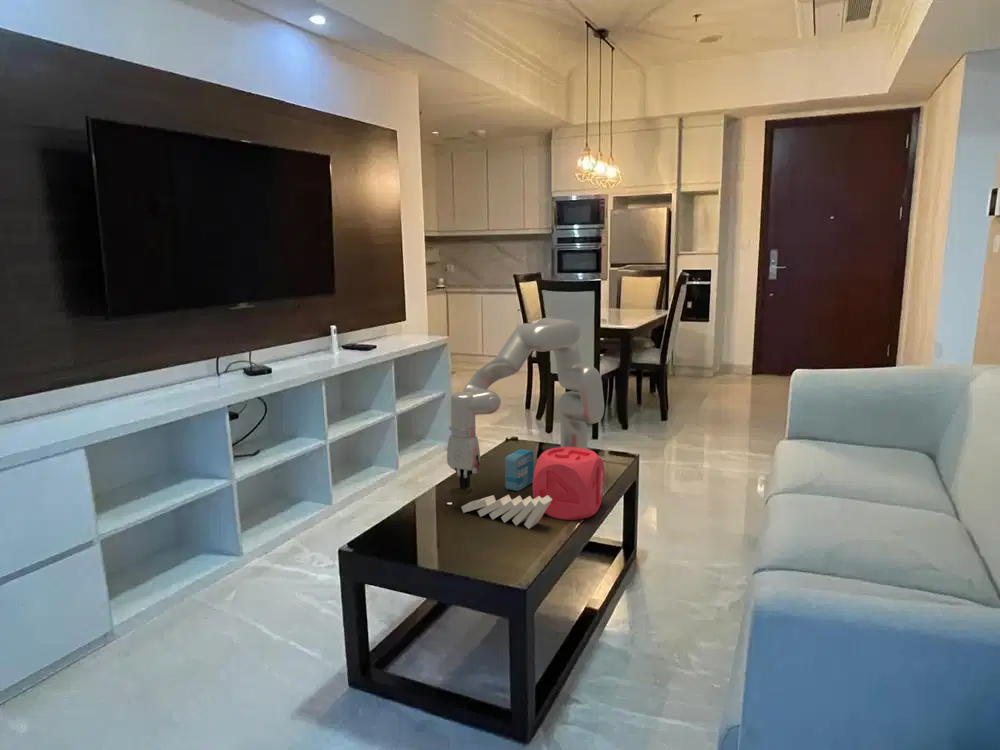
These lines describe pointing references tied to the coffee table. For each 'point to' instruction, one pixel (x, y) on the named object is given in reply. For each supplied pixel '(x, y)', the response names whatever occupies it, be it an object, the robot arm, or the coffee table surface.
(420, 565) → the coffee table surface
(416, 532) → the coffee table surface
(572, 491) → the red foam number die
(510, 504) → the domino
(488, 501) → the domino
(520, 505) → the domino
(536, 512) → the domino
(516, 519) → the domino
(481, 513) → the domino
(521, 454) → the data package
